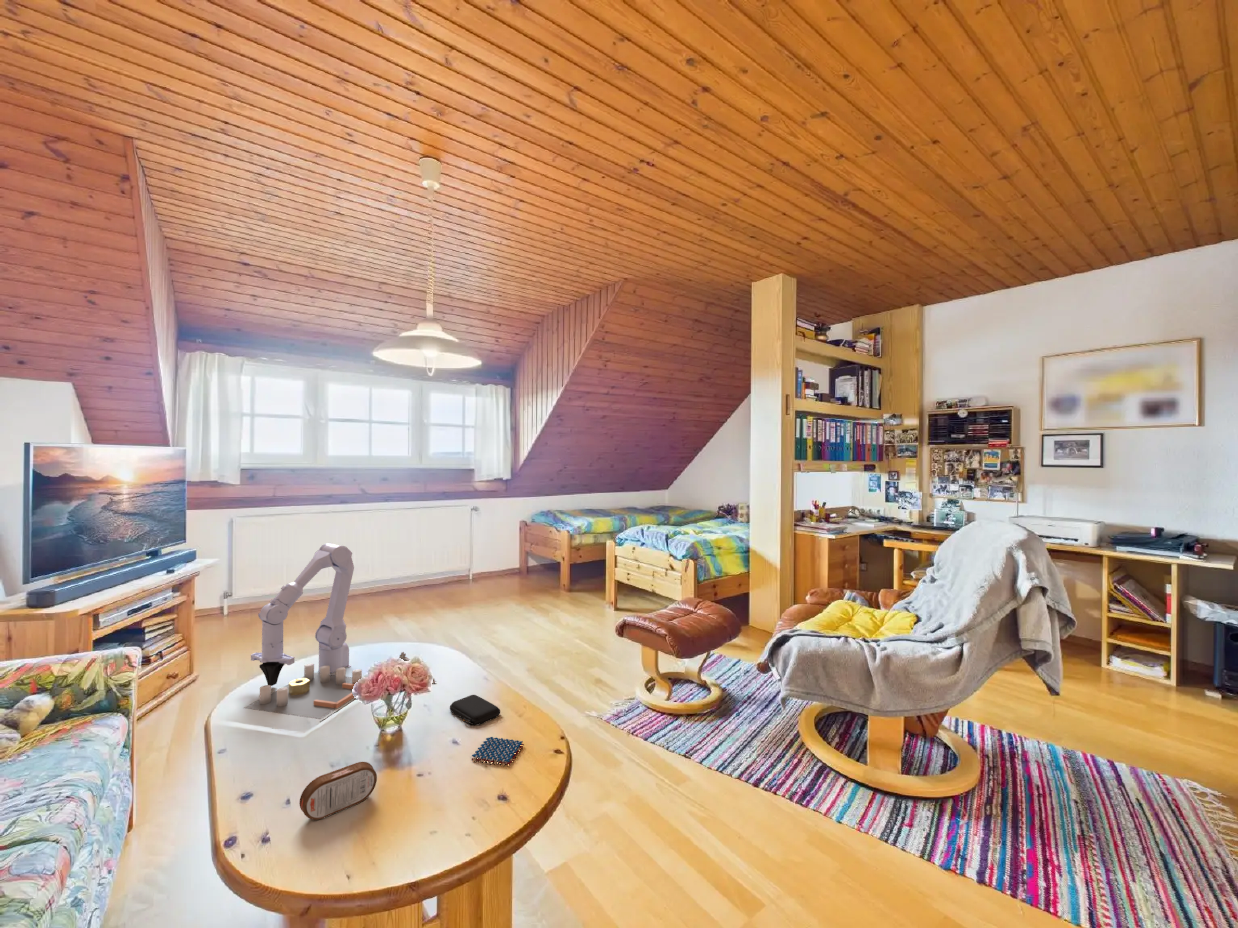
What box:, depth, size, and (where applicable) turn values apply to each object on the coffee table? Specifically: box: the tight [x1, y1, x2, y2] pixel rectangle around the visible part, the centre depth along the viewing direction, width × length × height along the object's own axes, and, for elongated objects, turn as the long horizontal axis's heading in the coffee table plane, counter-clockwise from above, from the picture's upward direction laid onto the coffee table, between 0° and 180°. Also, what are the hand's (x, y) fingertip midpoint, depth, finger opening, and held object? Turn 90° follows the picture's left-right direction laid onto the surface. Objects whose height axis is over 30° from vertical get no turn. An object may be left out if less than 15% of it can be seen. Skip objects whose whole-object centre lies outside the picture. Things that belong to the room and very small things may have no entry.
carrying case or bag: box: [449, 694, 501, 726], centre depth 158 cm, size 11×3×15 cm
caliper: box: [398, 651, 437, 684], centre depth 184 cm, size 20×1×6 cm, turn 55°
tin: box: [299, 761, 378, 821], centre depth 116 cm, size 15×3×8 cm, turn 135°
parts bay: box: [314, 683, 355, 709], centre depth 165 cm, size 13×8×1 cm, turn 168°
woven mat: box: [471, 736, 525, 766], centre depth 138 cm, size 10×11×2 cm
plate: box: [243, 663, 363, 723], centre depth 167 cm, size 26×26×6 cm
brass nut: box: [288, 677, 310, 695], centre depth 168 cm, size 6×5×3 cm
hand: (272, 684), depth 170 cm, fingers closed
